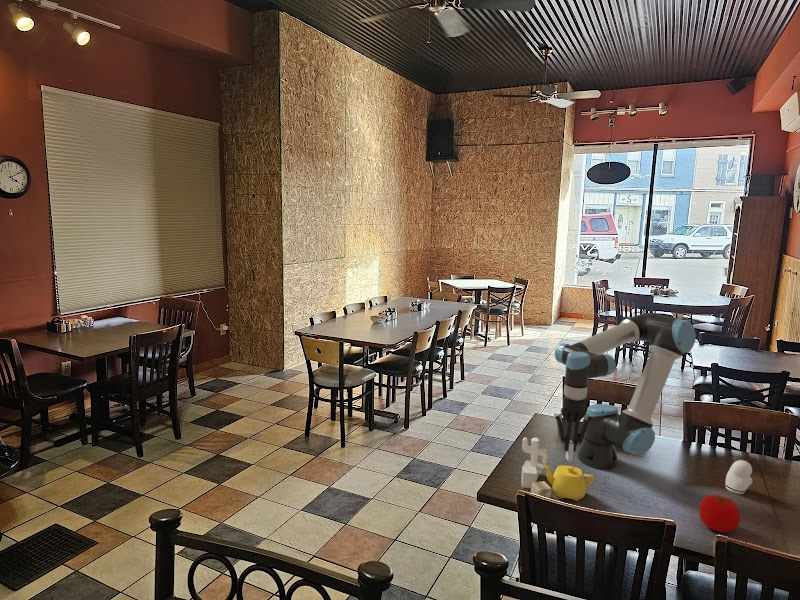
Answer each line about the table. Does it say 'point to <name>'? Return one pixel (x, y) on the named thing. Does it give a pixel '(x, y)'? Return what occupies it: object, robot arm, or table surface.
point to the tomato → (719, 513)
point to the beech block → (541, 489)
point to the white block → (528, 476)
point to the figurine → (535, 454)
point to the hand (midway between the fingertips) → (568, 459)
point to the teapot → (569, 482)
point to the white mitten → (739, 476)
